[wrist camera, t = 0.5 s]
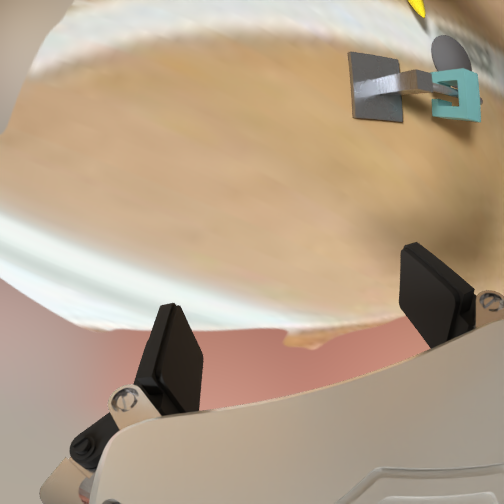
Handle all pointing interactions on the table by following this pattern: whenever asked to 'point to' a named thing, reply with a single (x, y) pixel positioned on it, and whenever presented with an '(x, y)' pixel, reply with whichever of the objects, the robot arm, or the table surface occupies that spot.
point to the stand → (386, 86)
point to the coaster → (449, 54)
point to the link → (466, 92)
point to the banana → (418, 6)
